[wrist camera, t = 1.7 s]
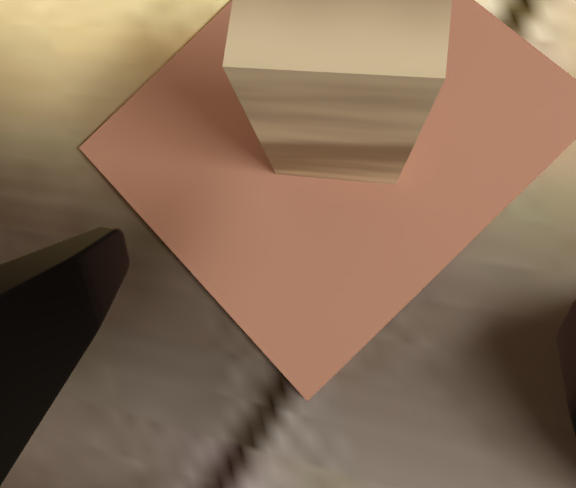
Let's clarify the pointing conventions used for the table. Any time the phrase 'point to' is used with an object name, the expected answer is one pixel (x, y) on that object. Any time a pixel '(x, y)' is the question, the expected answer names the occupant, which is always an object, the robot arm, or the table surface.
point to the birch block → (338, 81)
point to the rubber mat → (331, 191)
